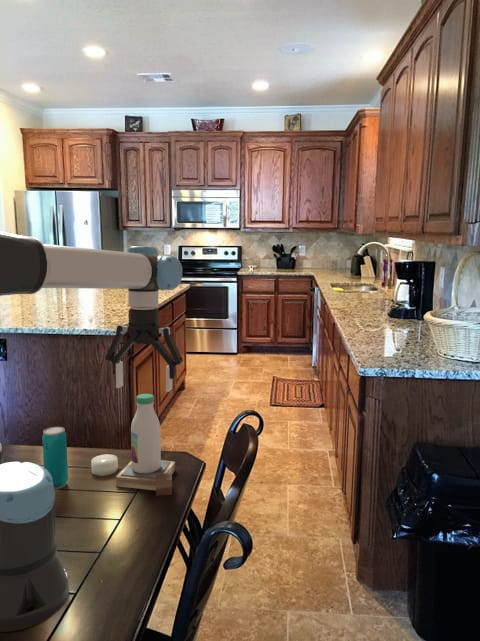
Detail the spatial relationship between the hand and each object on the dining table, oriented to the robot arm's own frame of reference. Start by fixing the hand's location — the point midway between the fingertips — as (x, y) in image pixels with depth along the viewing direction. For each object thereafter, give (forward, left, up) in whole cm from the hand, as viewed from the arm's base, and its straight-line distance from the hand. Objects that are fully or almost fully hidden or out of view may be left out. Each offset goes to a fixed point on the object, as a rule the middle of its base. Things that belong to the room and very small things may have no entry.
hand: (144, 388), depth 129 cm
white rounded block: (+2, +13, -25) cm, 28 cm away
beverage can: (-9, +21, -25) cm, 34 cm away
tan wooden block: (-6, -7, -25) cm, 26 cm away
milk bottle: (0, 0, -22) cm, 22 cm away
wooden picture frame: (0, 0, -25) cm, 25 cm away
